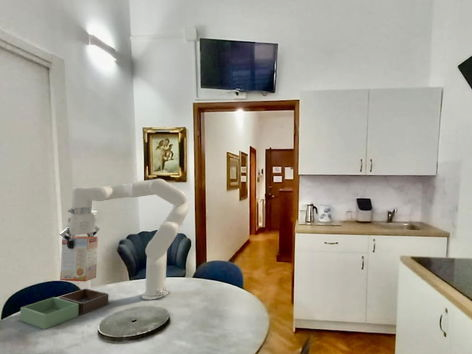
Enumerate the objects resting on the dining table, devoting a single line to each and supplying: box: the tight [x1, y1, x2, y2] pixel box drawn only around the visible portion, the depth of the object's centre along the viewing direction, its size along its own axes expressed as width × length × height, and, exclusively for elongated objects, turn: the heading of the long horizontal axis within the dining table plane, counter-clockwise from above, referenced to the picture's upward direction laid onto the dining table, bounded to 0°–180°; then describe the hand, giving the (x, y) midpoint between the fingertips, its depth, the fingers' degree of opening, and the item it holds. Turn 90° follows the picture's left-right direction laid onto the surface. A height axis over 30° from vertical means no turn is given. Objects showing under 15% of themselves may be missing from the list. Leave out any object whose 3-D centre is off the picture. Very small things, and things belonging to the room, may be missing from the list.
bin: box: [19, 296, 79, 330], centre depth 114 cm, size 20×12×6 cm, turn 70°
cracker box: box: [59, 235, 99, 283], centre depth 124 cm, size 14×6×21 cm, turn 84°
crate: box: [58, 288, 110, 315], centre depth 126 cm, size 20×12×5 cm, turn 70°
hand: (80, 246), depth 125 cm, fingers closed on cracker box, 6 cm apart
